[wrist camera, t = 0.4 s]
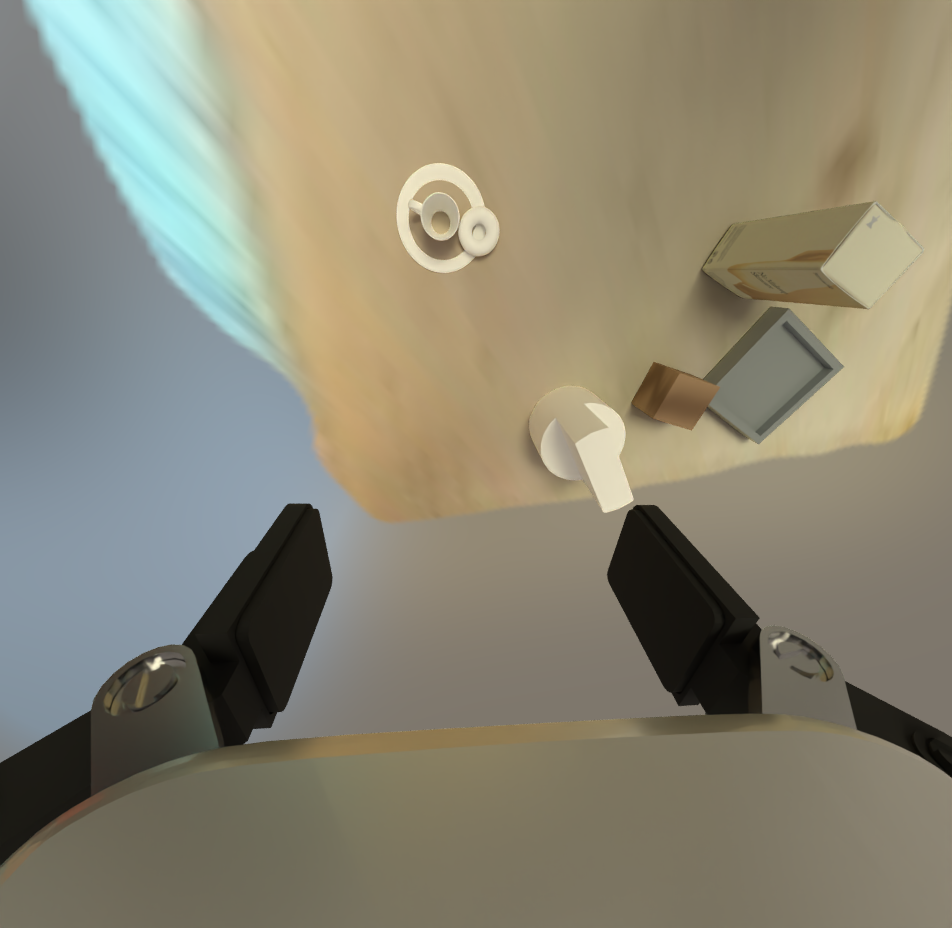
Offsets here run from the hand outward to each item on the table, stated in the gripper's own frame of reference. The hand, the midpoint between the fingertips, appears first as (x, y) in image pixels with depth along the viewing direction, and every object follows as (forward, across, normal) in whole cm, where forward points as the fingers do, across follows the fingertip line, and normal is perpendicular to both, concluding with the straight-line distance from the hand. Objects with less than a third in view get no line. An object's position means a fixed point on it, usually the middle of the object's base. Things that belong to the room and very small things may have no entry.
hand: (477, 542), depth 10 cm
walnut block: (+29, -24, +3) cm, 38 cm away
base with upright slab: (+29, -13, +7) cm, 33 cm away
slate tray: (+29, -35, +1) cm, 45 cm away
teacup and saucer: (+30, +1, -8) cm, 31 cm away
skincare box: (+29, -28, -10) cm, 41 cm away
